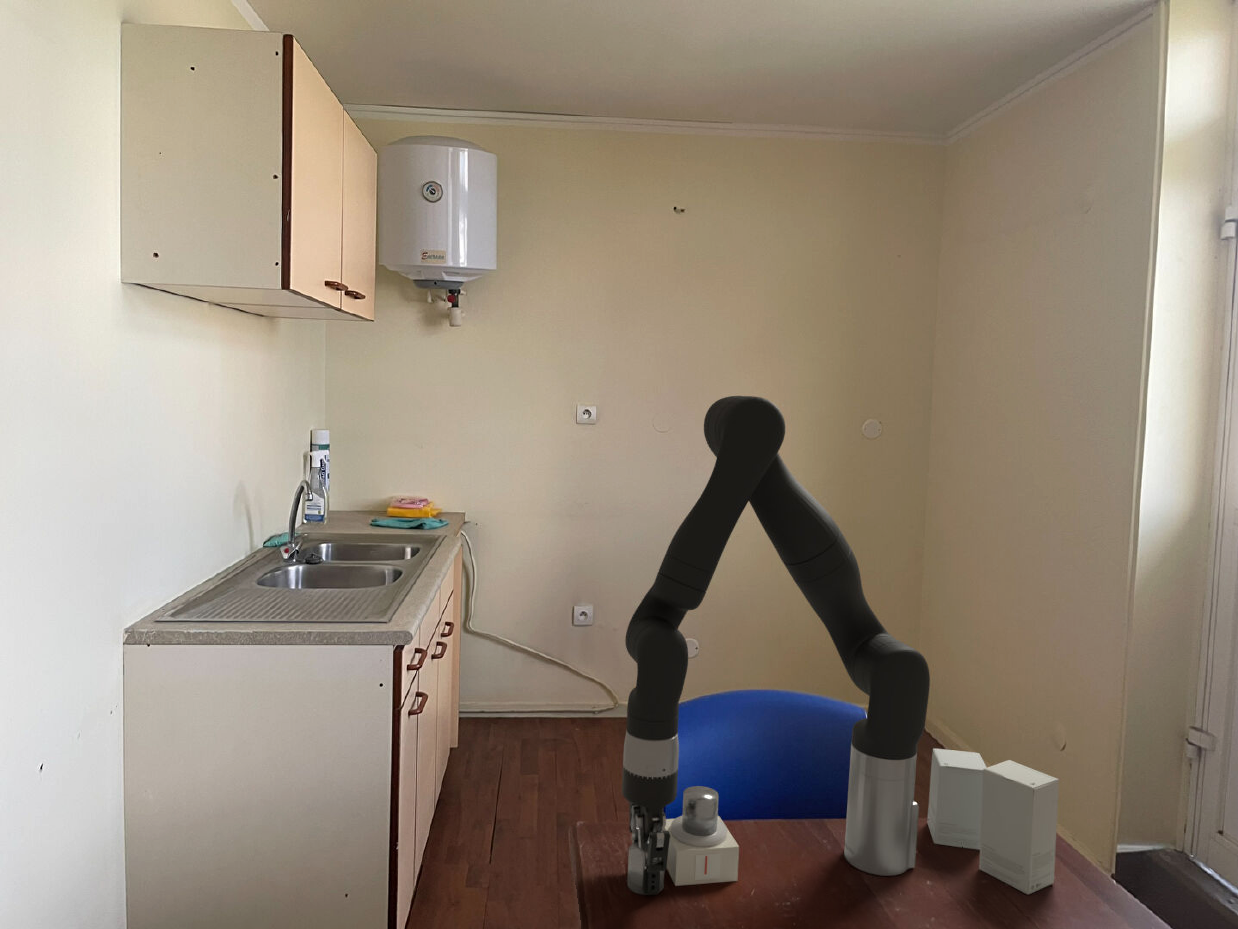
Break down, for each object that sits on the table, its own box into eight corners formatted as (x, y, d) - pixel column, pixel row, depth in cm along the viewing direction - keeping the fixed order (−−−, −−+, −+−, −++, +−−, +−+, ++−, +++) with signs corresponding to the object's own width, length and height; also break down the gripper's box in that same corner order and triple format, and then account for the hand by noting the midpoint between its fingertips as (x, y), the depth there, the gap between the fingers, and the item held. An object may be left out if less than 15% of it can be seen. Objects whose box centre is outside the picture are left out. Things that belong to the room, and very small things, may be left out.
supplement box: (983, 851, 136) (990, 771, 135) (932, 844, 137) (938, 765, 136) (974, 828, 143) (980, 752, 142) (926, 822, 144) (931, 746, 143)
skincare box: (1054, 885, 127) (1063, 780, 126) (1026, 897, 124) (1035, 789, 122) (1002, 857, 134) (1010, 757, 133) (974, 868, 131) (982, 766, 129)
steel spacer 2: (710, 818, 131) (712, 785, 130) (721, 835, 126) (723, 801, 125) (677, 820, 130) (679, 787, 129) (687, 837, 125) (689, 803, 124)
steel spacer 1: (658, 873, 126) (660, 839, 126) (667, 893, 121) (669, 858, 121) (623, 876, 125) (625, 842, 125) (631, 896, 120) (633, 861, 120)
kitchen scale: (717, 848, 134) (719, 810, 133) (738, 882, 125) (740, 842, 124) (659, 852, 132) (660, 814, 131) (676, 887, 123) (677, 847, 122)
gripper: (692, 785, 115) (686, 909, 117) (664, 741, 129) (658, 852, 131) (635, 788, 114) (630, 914, 115) (613, 743, 128) (608, 856, 129)
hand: (645, 881), depth 123 cm, fingers open, 5 cm apart
